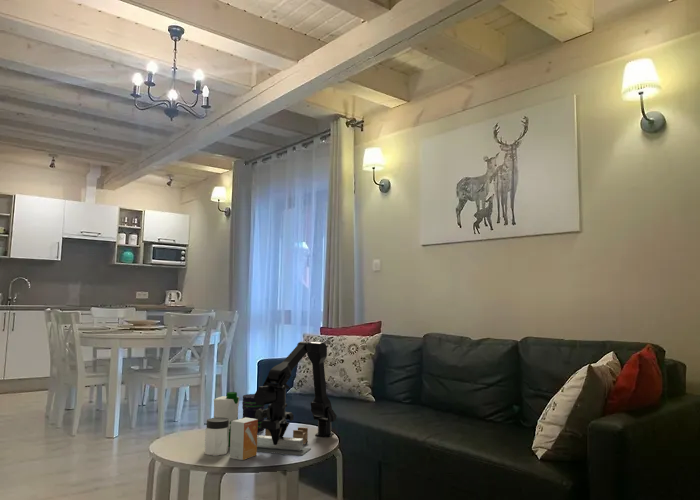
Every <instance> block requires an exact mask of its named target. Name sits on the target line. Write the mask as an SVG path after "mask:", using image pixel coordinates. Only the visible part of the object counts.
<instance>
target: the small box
mask: <svg viewBox="0 0 700 500" xmlns="http://www.w3.org/2000/svg"><path fill="white" fill-rule="evenodd" d="M257 431H258V419H253V418H246V417H245V418H243V417H242V418H238V419H237V420H234V421H231V437H230V447H229V459H234V460H240V461H245V460H246V459H249V458H253V457H255V456H257V454H258V452H257V435H258V432H257Z"/></svg>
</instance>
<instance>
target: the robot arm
mask: <svg viewBox="0 0 700 500" xmlns="http://www.w3.org/2000/svg"><path fill="white" fill-rule="evenodd" d="M306 355H307V358H308V360H309V361H310V362H311V366H312V367H311V368H312V377H313V389H314V398H313V401H311V402H310V413H311V414H312V418H313V420H315V421H317V433H316V434H314V435H315V437H323V438H324V437H326V438H330V437H332V436H333V435H334V433H335V432H333V431H332V423H333V422H335V421H336V420H337V414H336V413H335V411H334V410H333V406H332V402H331V400H330V399H329V396H328V395H327V385H326V372H325V361H326V359H327V357H328V347H327V344H326V343H324V342H317V341H299V342H298V343H297V344H296V346H295V348H294V349H293V350H292V351H291V352H290V353H289V354H288V355H287V356H286V358H285V359H284V360H283V361H282V362H281V363H278V364H276V365H274V366H273V367H272V368H271V369H270V370H269V371H268V374H267V377H266V378H265V380H264V382H263V384H262V386H258V389H257V390H256V391H255V393H254V394H255V395H254V400H255V403H256V404H257V405H259V406H261V405H264V406H265V405H267V408H264V410H262V409H259V410H256V413H255V418H257V419H258V421H260V420H261V419H264V421H262V422H261V429H264V430H265V429H268V430H269V431H270V433H271V437H272V440H273V444H274V445H277V442H278V439H279V437H285V433H286V431H287V429H288V427H289V425H290V422H291V421H293V420H294V419H295V418H294V414H293V412H291V411H290V412H289V411H286V407H287V408H288V403H287V402H286V397H287V395H286V394H287V393H286V392H287V391H286V390H287V389H290V385H288V384H287V383H288V382H289V380H290V379H291V377H292V373H293V372H292V371H293V370H294V368H295V367H297V365H298V364H299V363H300V362H301V360H302V359H303V358H304V357H305V356H306ZM287 420H288V421H290V422H288V421H287Z"/></svg>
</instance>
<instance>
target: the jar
mask: <svg viewBox="0 0 700 500" xmlns="http://www.w3.org/2000/svg"><path fill="white" fill-rule="evenodd" d="M204 438H205V439H204V441H205V442H204V443H205V444H204V455H208V456H212V457H213V456H214V457H215V456H223V455H226V454H227V453H228V452H229V447H228V441H229V419H228V418H221V417H219V418H214V417H211V418H207V419H206V426H205V437H204Z"/></svg>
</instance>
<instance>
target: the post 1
mask: <svg viewBox="0 0 700 500" xmlns="http://www.w3.org/2000/svg"><path fill="white" fill-rule="evenodd" d="M264 431H265V433H264V436H271V433H270V431H269V430H268V429H264Z"/></svg>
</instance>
